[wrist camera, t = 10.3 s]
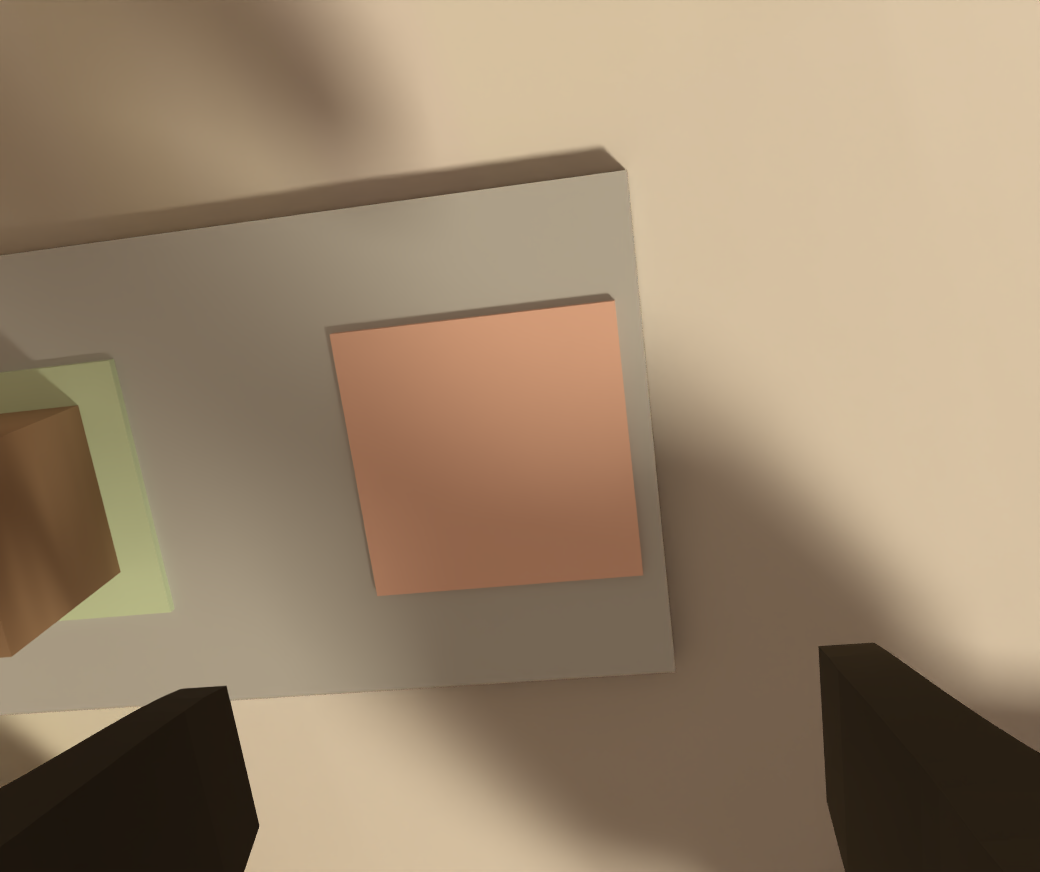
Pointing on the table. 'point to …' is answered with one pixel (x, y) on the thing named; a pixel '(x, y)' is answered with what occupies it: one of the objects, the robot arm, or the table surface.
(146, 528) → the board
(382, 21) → the table surface
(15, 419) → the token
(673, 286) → the table surface
